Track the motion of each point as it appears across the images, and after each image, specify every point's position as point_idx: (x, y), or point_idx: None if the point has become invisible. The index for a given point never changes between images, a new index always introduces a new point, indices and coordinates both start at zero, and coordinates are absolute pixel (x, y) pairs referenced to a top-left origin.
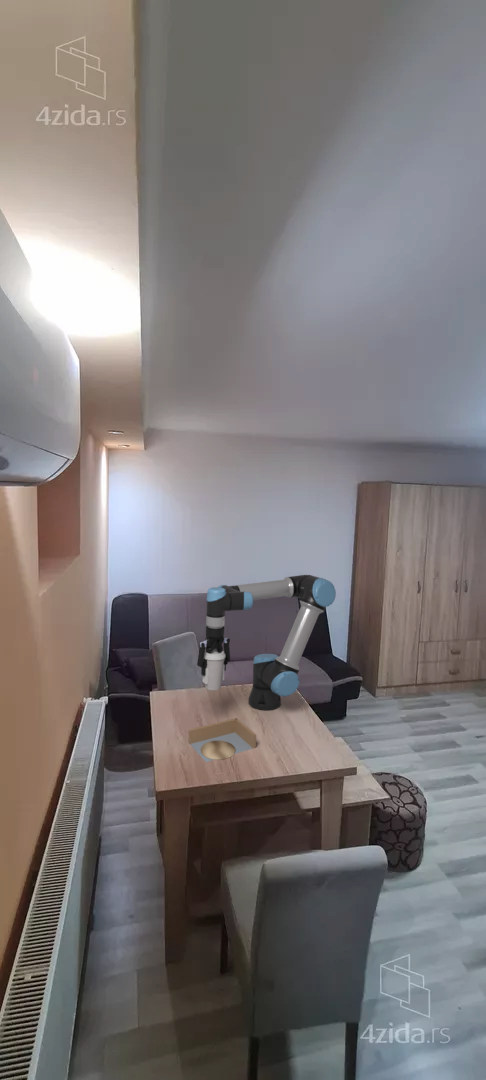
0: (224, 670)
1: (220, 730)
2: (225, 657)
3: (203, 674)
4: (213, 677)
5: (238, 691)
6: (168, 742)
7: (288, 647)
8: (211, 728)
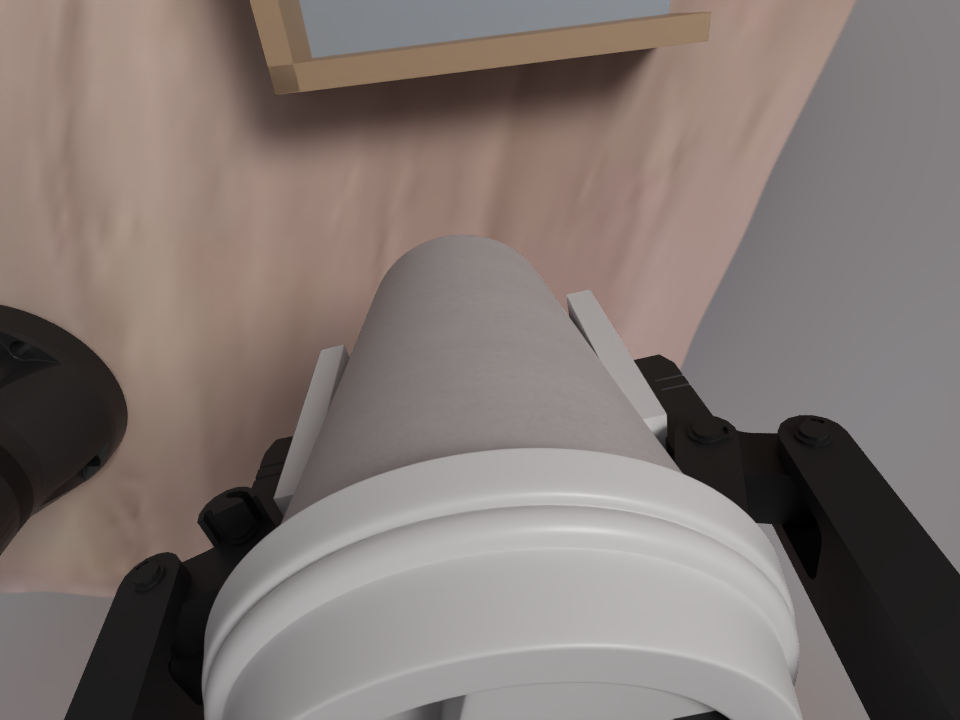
0: (288, 443)
1: (434, 44)
2: None
3: (667, 366)
4: (522, 293)
5: (166, 547)
6: (752, 120)
7: None
8: (517, 35)
